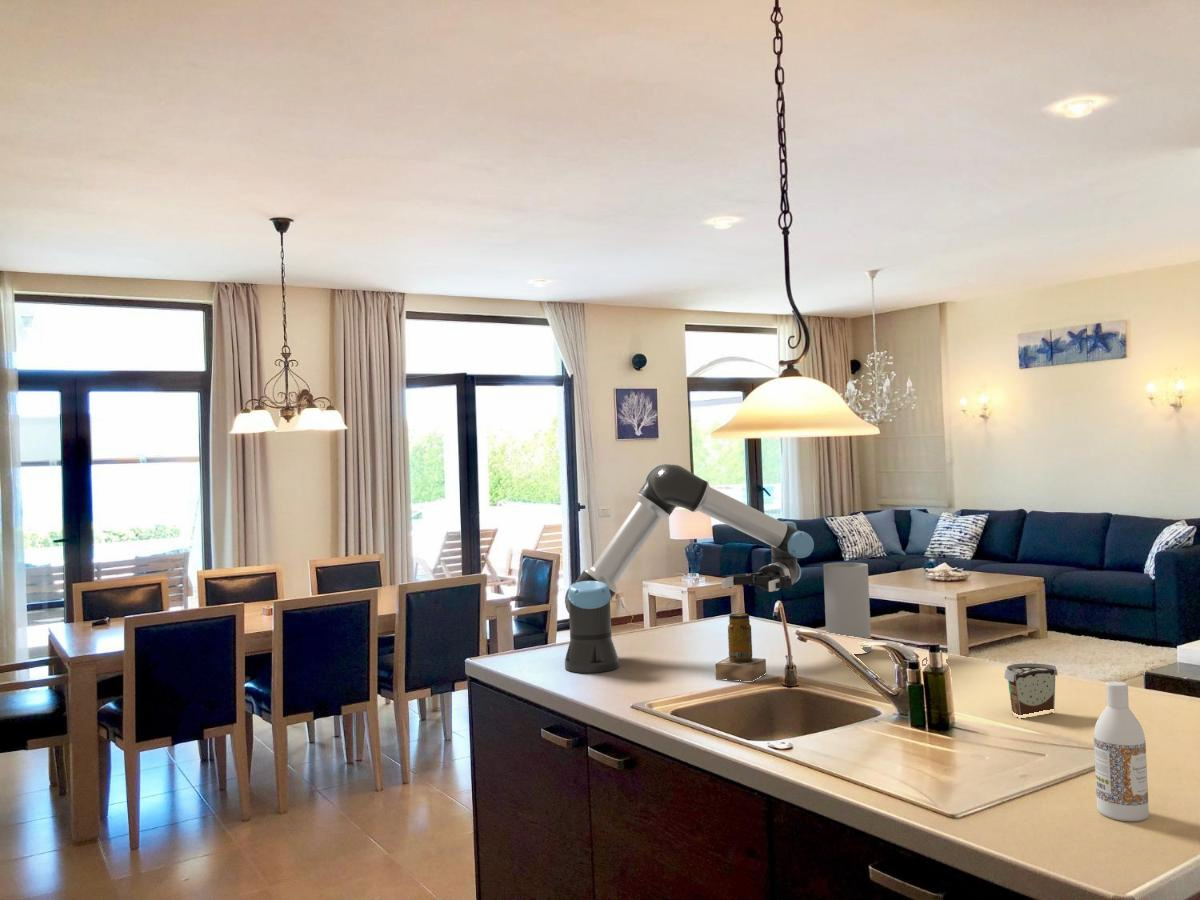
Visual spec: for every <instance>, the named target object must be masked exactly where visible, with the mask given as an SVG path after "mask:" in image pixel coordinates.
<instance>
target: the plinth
mask: <svg viewBox="0 0 1200 900" xmlns="http://www.w3.org/2000/svg"><path fill="white" fill-rule="evenodd" d="M725 659H730V658H729V656H728V657H726V658H725ZM756 659H760V658H759V657H757V658H756ZM761 659H762V660H763V661H760V662H758V663H757V662H756V663H752V664H741V663H737V662H735V663H734V662H728V661H723V660H724V659H722V660H720V661H718V662H716V663H715V665H714V667H715V679H716V680H718V679H727V680H726V681H729V680H739V681H738V682H740V680H741V681H753V680H755V679H757V678H759V677H760V676H762V675H764V674H765V673H766V674H767V660H766V658H761ZM764 676H765V675H764ZM759 679H760V678H759Z"/></svg>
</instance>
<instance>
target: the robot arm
mask: <svg viewBox="0 0 1200 900" xmlns="http://www.w3.org/2000/svg"><path fill="white" fill-rule="evenodd" d="M636 495H637V502H636V504H635V506H634V507H633V508H632V510H631V511H630V513H629V514H628V515H627V517H626V518H625V520H624V521H623V523H622V524H621V525H620V527H619V528H618V530H617V531H616V532H615V534H614V535H613V537H612V538H611V540H610V541H609V543H608V544H607V545H606V547H605V548H604V550H603V551H602V552H601V554H600V556H599V557H598V558H597V559H596V561H595V562H594V563H593V566H592V567H589V568H584V570H583V571H582V573H581V574H580V575H579V576H578V578H577V579H576V580H575V582H573V583H572V584H570V585H569V587H568V589H567V590H566V592H565V597H564V604H565V609H566V611H567V613H568V615H569V616H568V617H569V637H570V638H569V644H568V647H567V650H566V655H565V658H564V669H565V670H566V671H568V672H573V673H580V674H581V673H582V674H583V673H584V674H585V673H586V674H587V673H588V674H591V673H592V674H593V673H603V672H610V671H613V670H616V669H618V668H619V666H620V663H619V662H620V661H619V656H618V653H617V650H616V646H615V645H614V641H613V638H612V619H611V616H612V615H611V600H613V598H614V597H615V594H616V593H617V583H618V582H619V580H620V579H621V577H622V576H623V574H624V573H625V571H626V570H627V569H628V567H629V566H630V564H631V563H632V561H633V560H634V558H635V557H636V556H637V554H638V553H639V552H640V550H641V549H642V548H643V546H644V544H645V543H646V541H647V540H648V538H650V536H651V534H652V533H653V532H654V530H655V528H656V527H657V525H659V523H660V521H661V520H662V519H663V518H668V517H670V515H671V514H673V512H674V510H675V509H676V507H680V508H684V509H685V510H688V511H690V512H693V513H695V512H700V513H702V514H704V515H706V516H709V517H711V518H713V519H714V520H717V521H719V522H720V523H723V524H724V525H727V526H729V527H732V528H733V529H735V530H737V531H739V532H742V533H744V534H746V535H748V536H750V537H752V538H754V539H756V540H759V541H760V542H763V543H765V544H766V545H768V546H771V563H770V564H767V565H763V566H762V567H760V568H759V570H758V571H757V572H756V573H755V572H754V573H752V572H751V573H748V572H745V573H742V574H740V573H739V574H728V575H727V574H726V575H722V579H721V589H722V590H724V589H732V587H734V586H744V585H748V586H752V587H756V586H757V587H760V588H761V589H763V590H764V591H767V592H769V593H771V592H777V591H778V592H779V590H780V589H782V590H784V589H785V588H786V589H788V590H791V589H793V587H792V586H793V585H794V584H796V583H797V582H798V581H799V580H800V579H801V577H802V569H801V566H800V564H799V563H798V559H803V558H807V557H809V556H810V555H812V552H814V547H815V542H814V539H813V537H812V536H811V535H810V534H809V533H807V532H805V531H802V530H798V528H797V523H796V522H794V521H783V520H782V521H781V520H779V519H776V518H775V517H772V516H770V515H768V514H766V513H764V512H762V511H760V510H758V509H756V508H755V507H754V508H753V507H752V506H750V505H748V504H746V503H743V502H741V501H739V500H738V499H735V498H733V497H731V496H729V495H728V494H725V493H723V492H721V491H719V490H717V489H715V488H713V487H711V486H710V484H709V482H708V481H707V480H705V479H703V478H701V477H699V476H697V475H696V474H694V473H692V472H691V471H690V470H688V469H687V468H685V467H683V466H681V465H679V464H666V463H665V464H664V463H663V464H661V465H658V466H656V467H654V468H653V469H651V470H650V471H649V473H648V474H647V476H646V478H645V482H644V484H642V487H640V489H639V491H638V492H637V494H636Z"/></svg>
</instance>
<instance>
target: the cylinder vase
mask: <svg viewBox="0 0 1200 900" xmlns="http://www.w3.org/2000/svg"><path fill="white" fill-rule="evenodd" d="M822 568H823V588H824V613H825V614H824V615H825V633H826V632H829V633H835V634H840V635H846V636H854V637H865V638H871V639H872V635H871V633H872V632H871V630H872V629H871V610H870V609H871V606H870V586H869V565H868V563H863V562H831V563H824V564H823V567H822ZM826 649H827V648H826ZM862 649H863V650H864V651H865V652H867V653H866V654H868V653H870V652H871V651H872V646H871V647H863V648H862ZM827 651H828V652H829V653H831V652H830V651H829V650H828V649H827Z"/></svg>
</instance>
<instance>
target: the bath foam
mask: <svg viewBox="0 0 1200 900" xmlns="http://www.w3.org/2000/svg"><path fill="white" fill-rule="evenodd" d="M1105 687H1106V690H1105V691H1106V704H1107V705H1106V707H1105V708H1104V709H1103V711H1102V712H1101V714H1100V715H1099V717H1098V718H1097V721H1096V723H1095V726H1094V730H1093V745H1094V746H1093V748H1094V750H1093V751H1094V752H1093V753H1094V770H1095V771H1094V772H1095V773H1094V774H1095V788H1096V789H1095V790H1096V791H1095V792H1096V795H1095V796H1096V806H1097V807H1096V808H1097V811H1098V812H1099V813H1100V814H1101V815H1103V816H1105V817H1107V818H1109V819H1113V820H1116V821H1123V822H1141V821H1144V820H1146V819H1147V818H1148V817H1149V813H1150V812H1149V811H1150V808H1149V789H1148V788H1149V787H1148V786H1149V785H1148V765H1147V764H1148V763H1147V748H1146V747H1147V745H1146V744H1147V742H1146V736H1145V731H1144V729H1143V727H1142V725H1141V723H1140V721H1139V720H1138V719H1137V717H1136V716H1135V714H1134V713H1133V711H1132V710H1131V709H1130V706H1129V704H1130V703H1129V685H1128V684H1127V683H1126V682H1123V681H1115V680H1114V681H1107V682H1106V683H1105Z"/></svg>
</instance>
